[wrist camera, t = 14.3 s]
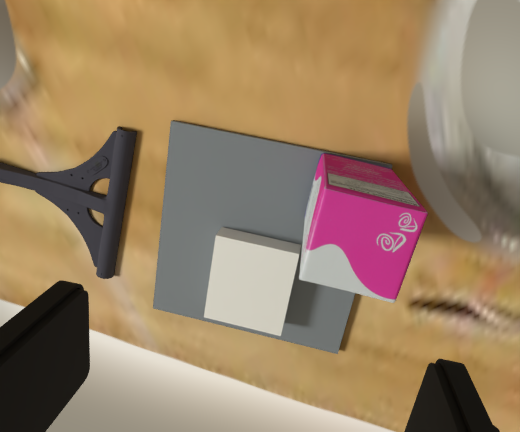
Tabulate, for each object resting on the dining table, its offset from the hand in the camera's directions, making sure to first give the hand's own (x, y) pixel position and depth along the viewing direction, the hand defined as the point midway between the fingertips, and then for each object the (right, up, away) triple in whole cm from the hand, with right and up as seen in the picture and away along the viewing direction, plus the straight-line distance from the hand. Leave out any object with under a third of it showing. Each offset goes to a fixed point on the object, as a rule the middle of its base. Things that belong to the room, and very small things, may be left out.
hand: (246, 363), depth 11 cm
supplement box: (+7, +6, +22) cm, 24 cm away
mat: (0, +2, +25) cm, 25 cm away
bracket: (-19, +7, +27) cm, 34 cm away
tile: (0, +2, +23) cm, 23 cm away
